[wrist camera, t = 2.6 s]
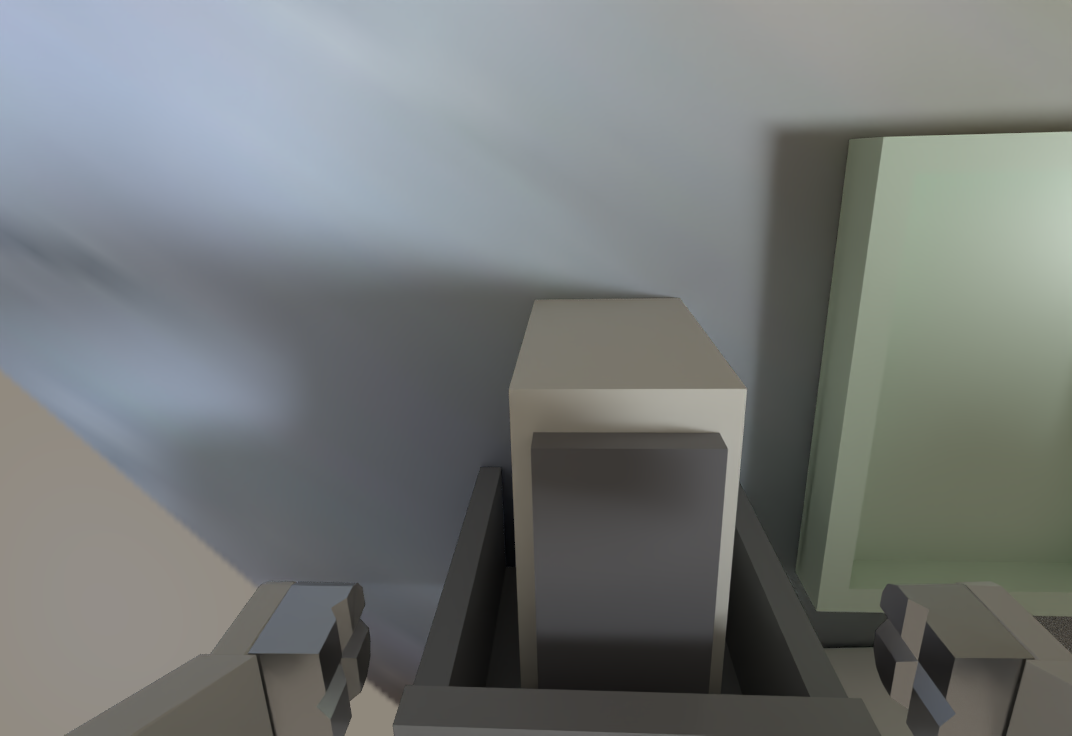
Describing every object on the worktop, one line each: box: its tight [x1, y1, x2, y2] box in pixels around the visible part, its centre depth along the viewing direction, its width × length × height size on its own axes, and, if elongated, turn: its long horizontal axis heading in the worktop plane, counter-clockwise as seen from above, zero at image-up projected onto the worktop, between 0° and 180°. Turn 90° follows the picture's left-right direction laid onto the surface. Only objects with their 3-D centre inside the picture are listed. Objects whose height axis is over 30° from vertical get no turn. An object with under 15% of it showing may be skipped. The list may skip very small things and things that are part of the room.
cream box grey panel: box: [509, 298, 747, 694], centre depth 19 cm, size 5×10×10 cm, turn 2°
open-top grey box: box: [393, 467, 881, 736], centre depth 19 cm, size 10×6×12 cm, turn 92°
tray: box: [795, 132, 1072, 617], centre depth 21 cm, size 11×16×2 cm
